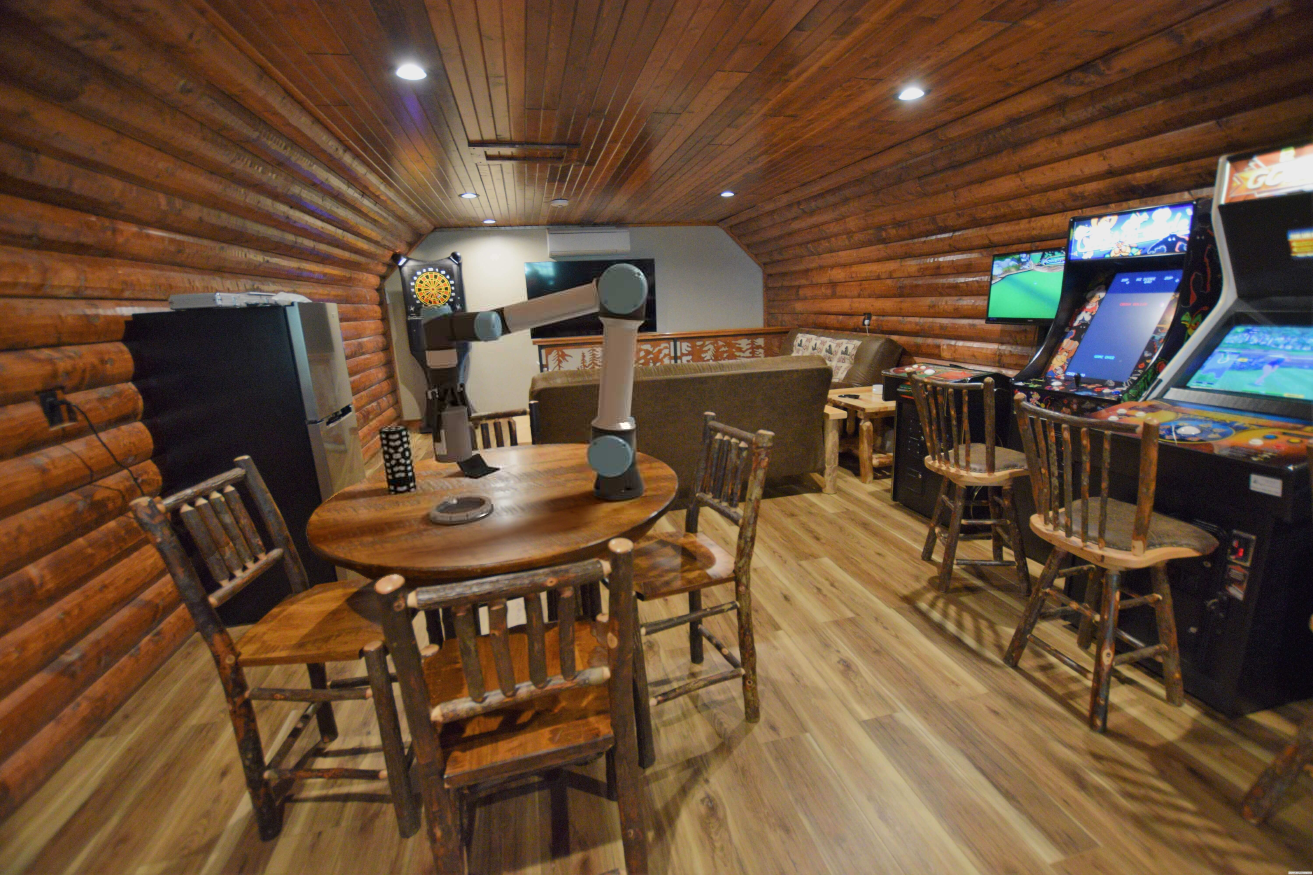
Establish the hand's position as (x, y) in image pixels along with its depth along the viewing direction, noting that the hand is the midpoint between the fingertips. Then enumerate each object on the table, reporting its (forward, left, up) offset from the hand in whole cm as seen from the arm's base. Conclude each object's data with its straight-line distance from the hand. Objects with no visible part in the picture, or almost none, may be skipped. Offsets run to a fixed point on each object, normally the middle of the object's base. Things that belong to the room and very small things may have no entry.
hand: (453, 448), depth 156 cm
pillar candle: (0, 0, -3) cm, 3 cm away
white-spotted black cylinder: (+32, -16, -19) cm, 40 cm away
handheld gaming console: (+17, -36, -19) cm, 44 cm away
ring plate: (0, 0, -19) cm, 19 cm away
